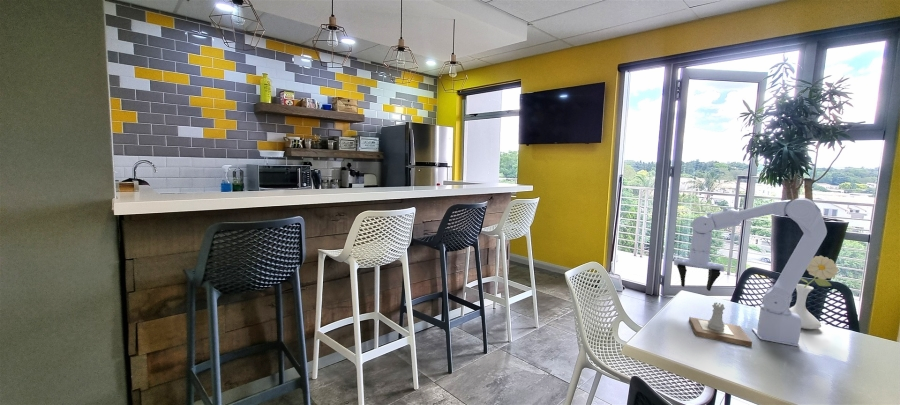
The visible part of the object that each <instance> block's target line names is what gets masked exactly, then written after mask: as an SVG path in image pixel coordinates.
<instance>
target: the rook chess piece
mask: <svg viewBox="0 0 900 405" xmlns="http://www.w3.org/2000/svg"><path fill="white" fill-rule="evenodd" d="M712 308H713V309H712V316H711V318H709V321H708V323H709V324H708V327H709V328H710V329H712V330H715V331H723V330H724V327H725V325H724V324H723V323H724V322H723V321H724V320H723V315H724V310H725V309H726V308H725V305H724V303H721V302H719V303H718V302H714V303H713V304H712Z"/></svg>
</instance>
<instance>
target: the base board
mask: <svg viewBox="0 0 900 405" xmlns="http://www.w3.org/2000/svg"><path fill="white" fill-rule="evenodd" d="M709 320H710V319H709ZM709 320H708V319H703V318H697V317H691V316H689V318H688V322H689V325H690V326H691V329H692V331H693V333H694V335H695V336H696V337H699V338H704V339H711V340H715V341H720V342H725V343H732V344H734V345H735V344H736V345H741V346H746V347H749V348H750V347H752V346H753V341H752V340H751V337H749V336H748V334H747V333H746V332H745V331H744V330H743V328H742V326H740V325H736V324H731V323H725V322H723V324H724V325H725V327H724V330H723V331H715V330H712V329H710V328H709V327H708V324H709V323H708V321H709Z"/></svg>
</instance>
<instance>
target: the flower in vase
mask: <svg viewBox="0 0 900 405" xmlns="http://www.w3.org/2000/svg"><path fill="white" fill-rule="evenodd" d="M806 271H807V272H808V274H809V275H811V276H813V278H812V280H810V281H808V280H806V279H805V278H803V277H801V279H800V281H803V282H805V283H807V284H803V283H798V284H797V286H796V288H795V289H796V302H795V304H794V305H793V306H792V307H789V309H790V310H791V313H796V314H798V315H799V316H800V318H801V329H805V330H818V329H820V328H821V327H822V324H821V322H820V321H819V320H818V319H817V317H815V316H814V315H813V314H812V313H811V312H809V310H808V309H807V307H806V301H807V297H808V295H809V293H811V291H813V290H814V289H815V288H814V287H813V286H810V284H811V283H812V282H813V281H814V282H815V283H816V284H817V285H818V286H820V287H832V283H830V282H829V281H828V280H827V279H832V278H835V277H836V275H838V272H839V267H838V266H837V264H836V263H835V261H834V260H833V259H831V258H830V259H829V257H827V256H825V257H824V256H823V255H819V256H817V255H814V257H813V259H812V260H811V262H810V264H809V265H808V267H807V269H806Z"/></svg>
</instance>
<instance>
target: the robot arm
mask: <svg viewBox="0 0 900 405" xmlns="http://www.w3.org/2000/svg"><path fill="white" fill-rule="evenodd" d="M770 215H775V216H780V217H785V216H786V215H787V217H789V218H790V219H791V220H793V221H794V222H795V223H796V224H797V225H798V227H799V228H800V229H801V231H802V233H803V234H802V236H801V238H800V239H799V242H798V243H797V245H796V247H795V248H794V250H793V252H792V254H791V255H790V256H789V259H788V260H787V263H785V266H784V267H783V269H782V271H781V273H780V274H779V277H778V278H777V280H776V281H775V283H774V285H772V286H770V287H769V288H767V290H766V291H765V294H764V295H763V297H762V300H761V301H762V304H760V310H759V316H758V322H757V328H754V327H752V328H751V330H752V331H753V332H754V334H755V335H756V336H757V337H758V338H759V340H762V341H768V342H774V343H777V344H783V345H784V344H785V345H789V346H795V347H800V344H799V342H800V336H801V329H802V328H801V318H800V316H799V315H798V314H796V313H791V310H790V309H789V308H791V307H790V306H791V302H792V300H793V293H794V291H795V289H796V286H797V284H799V283H800V281H801V280H800V279H801V278H803V276H804V273H805V272H806V271H807V267H808V265H809V264H810V262H811V260H812V259H813V258H814V257H815V256H816V253H817V252H818V250H819V248H820V246H821V245H822V243H823V241H824V240H825V238H826V236H827V233H828V229H827V226H826V223H825V220H824V217H823V215H822V210H821V208H820V207H819V206H818V205H817V204H816V203H815V201H813V200H812V199H809V198H806V197H799V198H795V199H793V200H792V199H786V200H785V199H783V200H778V201H773V202H768V203H765V204H761V205H758V206H754V207H750V208H749V207H748V208H745V209H741V210H737V209H735V208H729V207H726V208H722V210H720V211H717V212H716V211H715V212H713V213H712V212H707V213H706V215H699V216H697V217H696V218H694V219H693V221H692V222H691V227H692V230H693V231H692V236H691V242H690V250H689V258H688V259H683V258H682V259H681V258H680V259H679V258H674V259H673V265H674V266H676V267H677V270H678V272H679V277H680V282H681V283H680V286H681V287H682V288H685V284H686V275H687V270H688V269H687V267H689V268H696V269H704V270H708V272H707V273H708V275H707V276H708V277H707V284H706V291H708V292H711V290H712V287H713V285H714V283H715V282H716V280H717V279H718V278H719V277H720V275H721V272H722V273H724V271H725V266H724V264H719V263H714V262H710V256H711V249H712V248H711V246H712V240H713V239H712V235H713V230H716V231H720V230H722V229H723V230H724V229H727V228H728V229H729V228H732V227H737V226H740V225H741V222H742V221H745V220H750V219H754V218H760V217H765V216H770Z"/></svg>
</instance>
